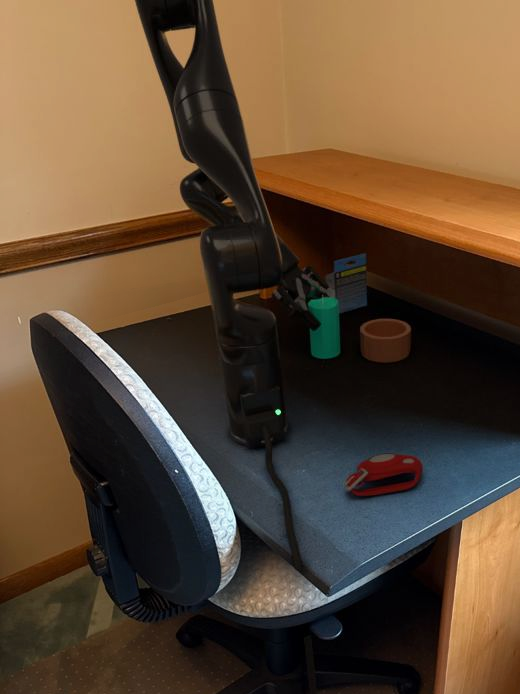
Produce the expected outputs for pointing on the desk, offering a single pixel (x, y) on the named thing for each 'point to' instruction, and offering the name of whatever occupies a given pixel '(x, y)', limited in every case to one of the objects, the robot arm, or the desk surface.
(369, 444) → the desk surface
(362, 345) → the holder
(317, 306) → the candle
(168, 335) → the desk surface
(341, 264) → the tape cartridge
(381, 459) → the tracker holder
